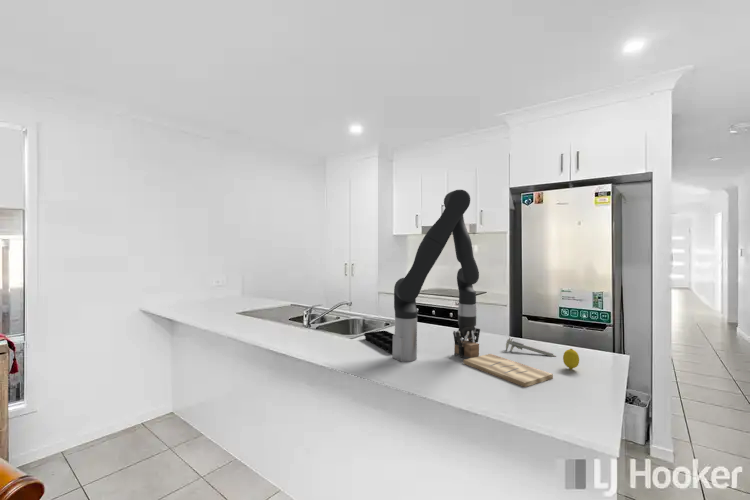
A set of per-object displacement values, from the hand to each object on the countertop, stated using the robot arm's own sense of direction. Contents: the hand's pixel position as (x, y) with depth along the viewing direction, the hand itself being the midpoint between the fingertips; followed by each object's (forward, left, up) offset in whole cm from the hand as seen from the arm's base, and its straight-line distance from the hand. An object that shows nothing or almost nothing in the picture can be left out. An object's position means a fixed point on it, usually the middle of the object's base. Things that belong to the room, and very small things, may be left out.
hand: (466, 353), depth 157 cm
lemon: (+23, -32, -1) cm, 39 cm away
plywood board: (0, -20, -1) cm, 20 cm away
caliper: (+28, -11, -2) cm, 30 cm away
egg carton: (-19, +31, -2) cm, 36 cm away
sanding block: (0, 0, -1) cm, 1 cm away
